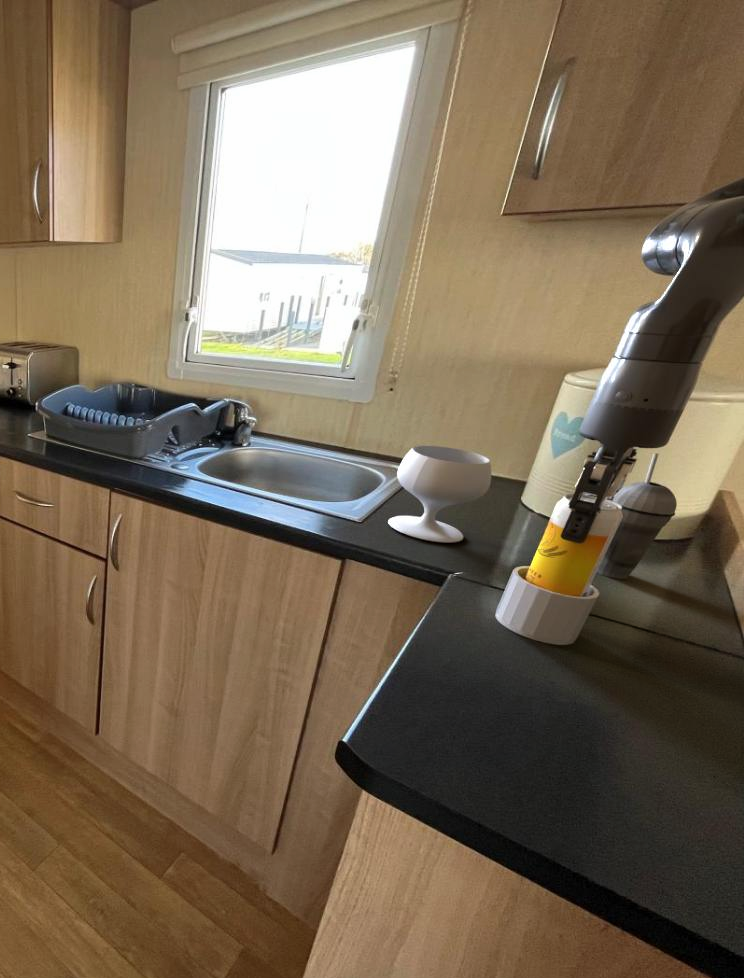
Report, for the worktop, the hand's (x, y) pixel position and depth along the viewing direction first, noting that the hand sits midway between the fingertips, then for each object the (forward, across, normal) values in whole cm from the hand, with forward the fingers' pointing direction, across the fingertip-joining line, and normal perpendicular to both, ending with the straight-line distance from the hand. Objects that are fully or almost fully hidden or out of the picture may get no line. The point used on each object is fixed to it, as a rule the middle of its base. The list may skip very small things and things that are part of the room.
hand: (578, 533), depth 69 cm
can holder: (+14, 0, 0) cm, 14 cm away
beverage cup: (+14, +31, -3) cm, 34 cm away
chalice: (+14, +24, +22) cm, 35 cm away
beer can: (+11, 0, 0) cm, 11 cm away
